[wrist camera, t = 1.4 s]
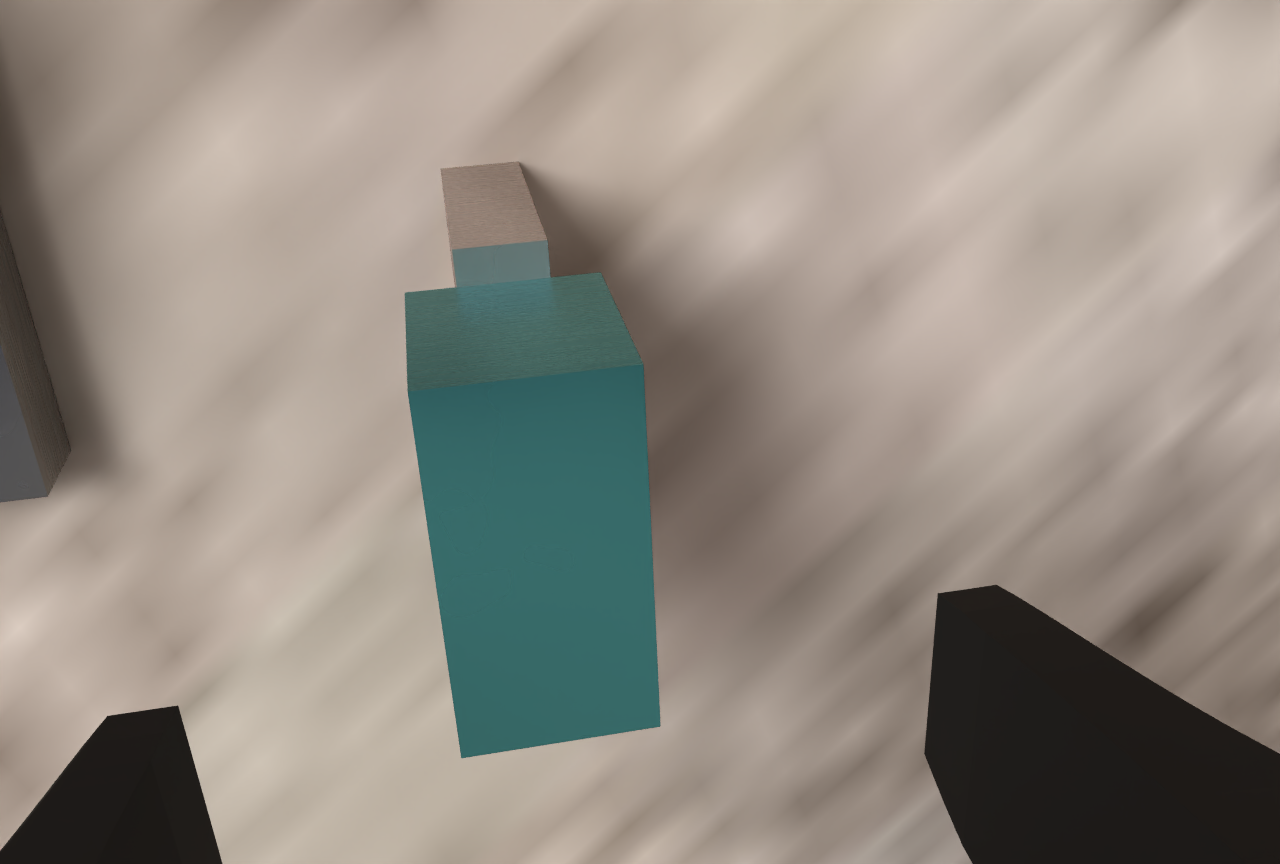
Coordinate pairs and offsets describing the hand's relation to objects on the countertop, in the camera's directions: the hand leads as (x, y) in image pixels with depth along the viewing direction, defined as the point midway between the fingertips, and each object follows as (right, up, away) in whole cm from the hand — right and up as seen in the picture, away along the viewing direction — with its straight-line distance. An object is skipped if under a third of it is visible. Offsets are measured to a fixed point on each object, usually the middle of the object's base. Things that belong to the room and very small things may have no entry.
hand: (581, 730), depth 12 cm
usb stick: (-2, +4, +8) cm, 10 cm away
